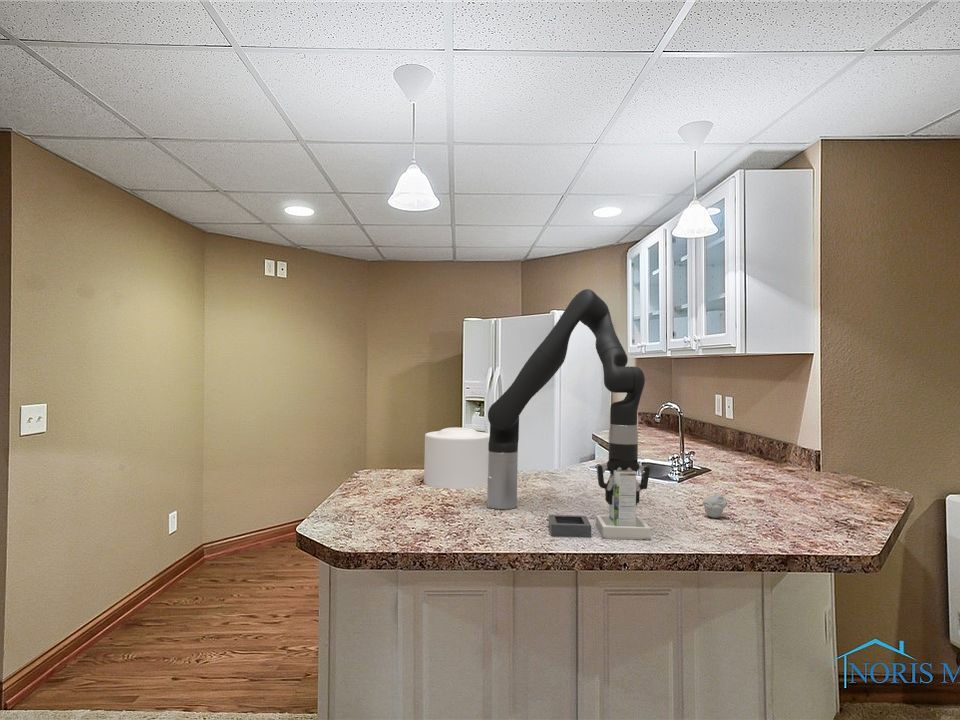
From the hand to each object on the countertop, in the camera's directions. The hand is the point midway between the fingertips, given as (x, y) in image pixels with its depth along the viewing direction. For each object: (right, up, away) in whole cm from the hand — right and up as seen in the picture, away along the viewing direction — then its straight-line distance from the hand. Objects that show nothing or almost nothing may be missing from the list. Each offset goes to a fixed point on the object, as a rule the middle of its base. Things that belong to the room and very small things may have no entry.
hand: (622, 504), depth 154 cm
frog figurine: (+32, -9, +17) cm, 37 cm away
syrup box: (0, -5, 0) cm, 5 cm away
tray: (0, -8, 0) cm, 8 cm away
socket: (-14, -7, 0) cm, 16 cm away
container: (-46, -8, +64) cm, 79 cm away
